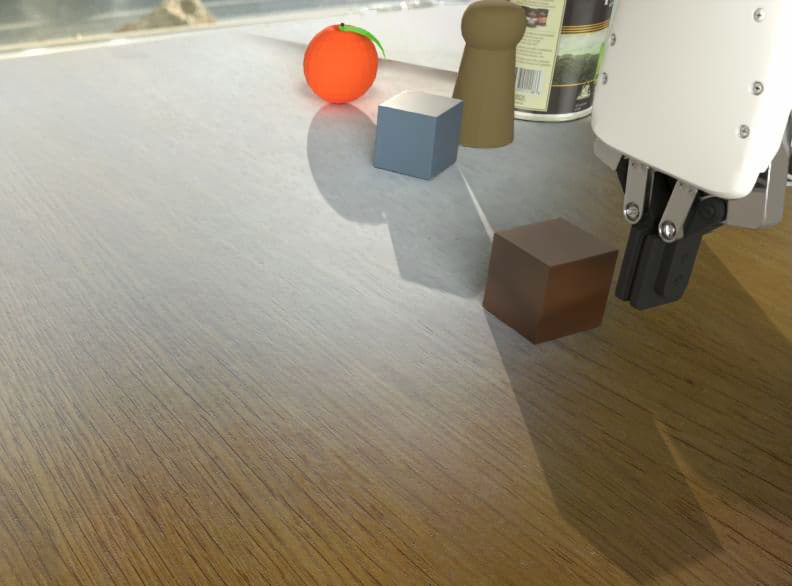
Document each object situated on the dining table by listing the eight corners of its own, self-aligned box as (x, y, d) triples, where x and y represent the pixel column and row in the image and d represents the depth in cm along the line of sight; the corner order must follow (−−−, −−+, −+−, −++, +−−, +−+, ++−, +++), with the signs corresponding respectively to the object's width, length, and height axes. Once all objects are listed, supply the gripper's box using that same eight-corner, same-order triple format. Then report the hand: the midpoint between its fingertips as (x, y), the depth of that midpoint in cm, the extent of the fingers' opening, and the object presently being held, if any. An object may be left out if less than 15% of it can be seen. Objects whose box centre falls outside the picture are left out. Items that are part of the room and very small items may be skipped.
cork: (457, 119, 88) (474, -11, 82) (522, 131, 86) (545, -2, 79) (431, 139, 84) (447, 4, 78) (499, 153, 82) (521, 14, 75)
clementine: (397, 99, 93) (404, 21, 89) (366, 120, 88) (372, 38, 84) (322, 86, 96) (326, 10, 92) (288, 105, 91) (290, 26, 87)
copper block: (601, 326, 58) (619, 249, 55) (534, 345, 57) (550, 267, 54) (545, 289, 62) (560, 216, 59) (481, 306, 60) (493, 231, 57)
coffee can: (586, 90, 95) (617, -69, 87) (599, 126, 87) (636, -46, 79) (478, 84, 97) (499, -73, 89) (481, 119, 88) (505, -51, 80)
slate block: (456, 161, 80) (464, 100, 77) (429, 180, 77) (436, 117, 74) (401, 148, 82) (407, 88, 79) (373, 166, 79) (377, 105, 76)
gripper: (993, -72, 36) (822, 351, 47) (684, -121, 47) (601, 230, 58) (857, -59, 33) (707, 388, 44) (562, -114, 44) (499, 254, 55)
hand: (647, 298), depth 51 cm, fingers closed
